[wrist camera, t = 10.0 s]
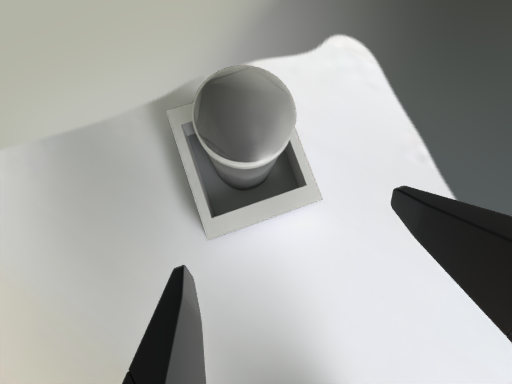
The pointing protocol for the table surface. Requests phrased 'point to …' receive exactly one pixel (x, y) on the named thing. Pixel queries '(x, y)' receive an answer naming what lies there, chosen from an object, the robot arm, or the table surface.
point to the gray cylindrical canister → (243, 123)
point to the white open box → (241, 201)
